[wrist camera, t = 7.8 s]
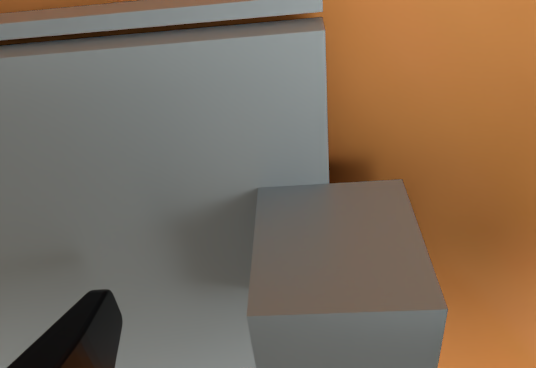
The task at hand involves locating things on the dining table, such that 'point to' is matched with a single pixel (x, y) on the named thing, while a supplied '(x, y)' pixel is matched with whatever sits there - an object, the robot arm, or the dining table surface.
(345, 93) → the dining table surface
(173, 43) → the lid
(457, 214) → the dining table surface
